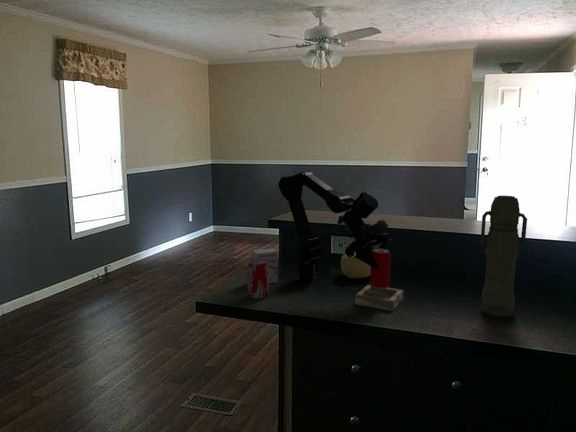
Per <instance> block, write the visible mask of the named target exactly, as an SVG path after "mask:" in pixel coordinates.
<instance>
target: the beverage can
mask: <svg viewBox="0 0 576 432" xmlns="http://www.w3.org/2000/svg"><path fill="white" fill-rule="evenodd" d="M371 254H372V256H373V257H374V259H375V261H376V262H377V264H378V266H379V268H378V269H377V270H376V269H374V268H373V267H371V266H370V275H369V276H370V277H369V285H371V286H372V287H373V288H375V289H386V288H390V286H391V265H392V263H391V262H392V258H391V257H392V255H391V252H390V250H389V249H388V248H387V249H382V248H377V249H375V248H373V249H372V251H371Z"/></svg>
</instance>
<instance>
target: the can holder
mask: <svg viewBox="0 0 576 432" xmlns="http://www.w3.org/2000/svg"><path fill="white" fill-rule="evenodd" d="M403 300H404V289H400V288H392V287H388V288H386V289H375V288H373V287H372V286H371V285H370V284H367V285H366V286H365V287H364V288H362V289H361V290H360V291H358V292H357V293H356V294H355V300H354V301H355V302H354V303H355V305H357V306H363V307H367V308H368V307H369V308H374V309H381V310H385V311H392V312H394V310H395V309H396V308H397V307H398V305H399V304H401V302H402V301H403Z"/></svg>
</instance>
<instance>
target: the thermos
mask: <svg viewBox="0 0 576 432" xmlns="http://www.w3.org/2000/svg"><path fill="white" fill-rule="evenodd" d="M520 211H521V209H520V204H519V199H518V198H517V197H515V196H513V195H497V196H494V198H493V199H492V202H491V206H490V210H489V211H485V212H484V213H483V215H482V218H481V231H480V246H481V247H484V248H485V251H484V252H485V255H486V263H485V264H486V265H485V275H484V276H485V278H484V286H483V288H482V292H481V304H482V305H481V312H482V313H484V314H485V315H488V316H491V317H495V318H510V317H512V316H513V315H514V307H515V302H516V295H515V290H514V287H515V276H516V266H517V264H516V263H517V259H518V257H519V251H520V250H523V249H524V248H525V246H526V235H527V224H528V217H527V216H525V213H522V212H520ZM487 216H490V218H489V225H490V226H489V230H488V233H487V235H486V238H485V234H486V220H487V219H486V218H487ZM520 217H521V218H522V226H521V235H520V236H519V228H518V226H519V220H520ZM485 239H486V240H485Z"/></svg>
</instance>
